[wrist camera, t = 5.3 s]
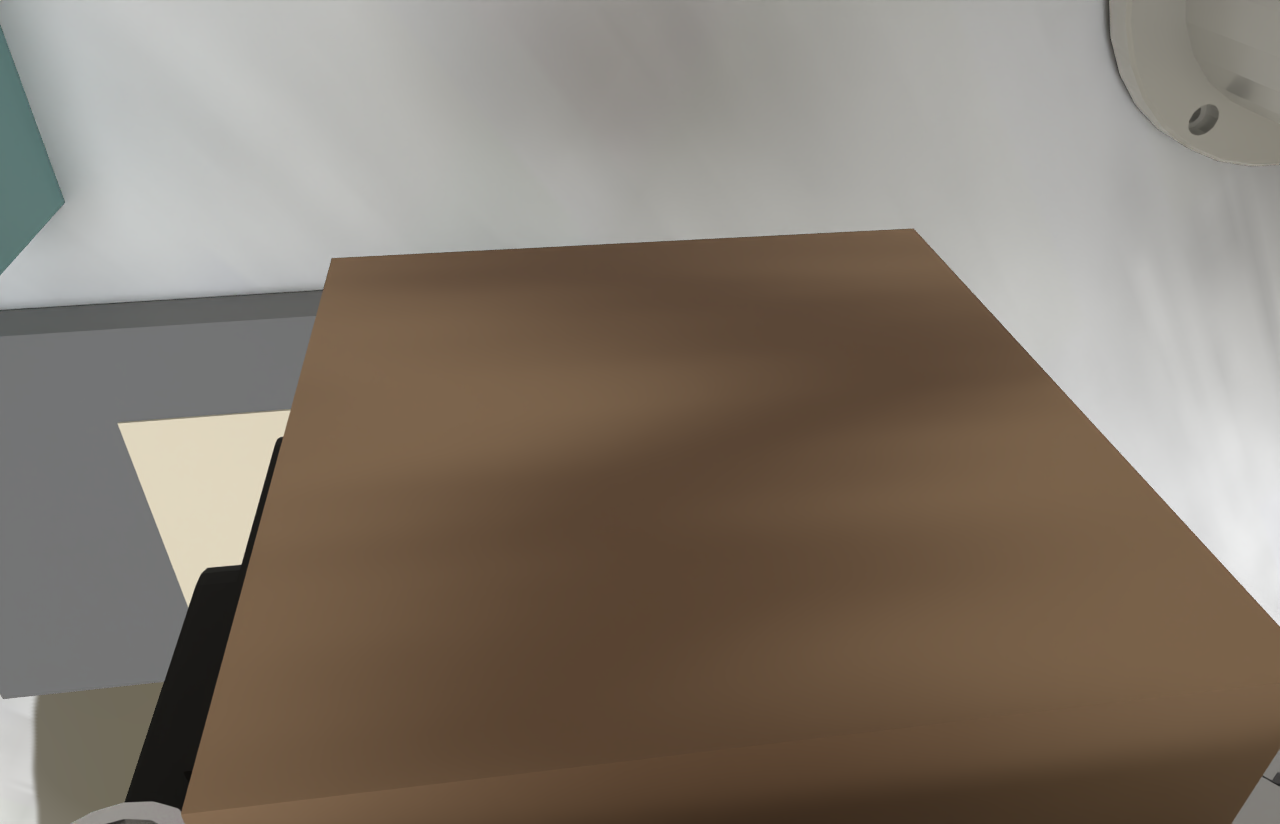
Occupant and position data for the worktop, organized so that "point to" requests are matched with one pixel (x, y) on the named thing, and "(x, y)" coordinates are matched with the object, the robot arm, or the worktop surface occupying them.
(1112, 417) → the worktop surface
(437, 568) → the walnut block
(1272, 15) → the robot arm
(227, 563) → the build plate
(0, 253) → the teal block
